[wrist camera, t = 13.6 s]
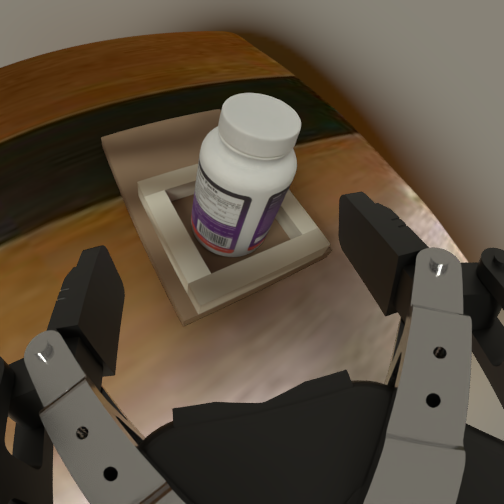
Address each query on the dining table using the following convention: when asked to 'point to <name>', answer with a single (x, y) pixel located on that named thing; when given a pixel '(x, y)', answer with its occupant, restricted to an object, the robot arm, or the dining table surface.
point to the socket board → (179, 220)
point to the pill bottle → (244, 173)
